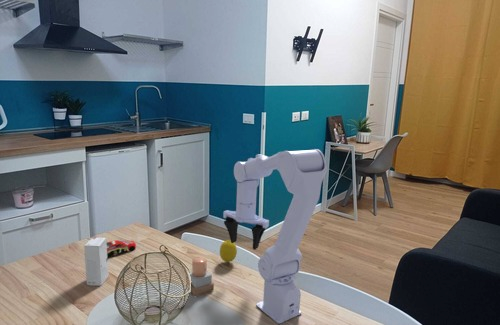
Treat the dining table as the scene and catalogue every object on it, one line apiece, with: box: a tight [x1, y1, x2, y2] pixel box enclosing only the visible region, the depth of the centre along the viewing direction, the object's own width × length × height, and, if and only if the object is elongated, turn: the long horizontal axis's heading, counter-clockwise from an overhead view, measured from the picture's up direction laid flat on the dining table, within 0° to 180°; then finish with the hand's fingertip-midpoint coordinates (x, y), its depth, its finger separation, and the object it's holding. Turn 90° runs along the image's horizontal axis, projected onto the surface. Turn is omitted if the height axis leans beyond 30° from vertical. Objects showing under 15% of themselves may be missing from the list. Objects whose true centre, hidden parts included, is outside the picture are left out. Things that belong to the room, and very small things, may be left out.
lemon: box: [219, 239, 238, 263], centre depth 120 cm, size 6×6×8 cm
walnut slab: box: [190, 282, 215, 297], centre depth 104 cm, size 6×6×2 cm
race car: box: [106, 239, 137, 259], centre depth 124 cm, size 13×5×4 cm, turn 132°
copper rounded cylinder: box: [191, 256, 208, 277], centre depth 103 cm, size 4×4×4 cm
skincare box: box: [83, 237, 109, 287], centre depth 105 cm, size 6×4×12 cm
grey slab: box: [189, 270, 213, 288], centre depth 104 cm, size 5×5×2 cm
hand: (244, 245), depth 110 cm, fingers open, 7 cm apart
